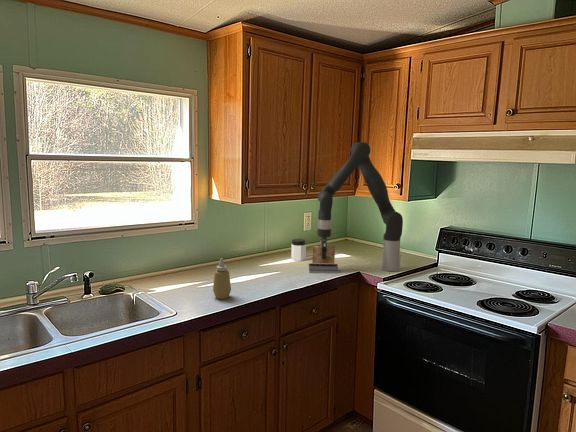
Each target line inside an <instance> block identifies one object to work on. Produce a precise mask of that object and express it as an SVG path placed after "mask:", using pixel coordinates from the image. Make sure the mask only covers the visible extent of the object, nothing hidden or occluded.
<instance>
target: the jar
mask: <svg viewBox="0 0 576 432" xmlns="http://www.w3.org/2000/svg"><path fill="white" fill-rule="evenodd" d="M290 248H291V249H290V250H291V253H290V254H291V255H290V258H291V260H293V261H297V262H302V261H304V260H306V258H307V251H306V250H307V245H306V239H304V238H294V239H292V240H291V247H290Z"/></svg>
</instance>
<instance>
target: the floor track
mask: <svg viewBox="0 0 576 432" xmlns="http://www.w3.org/2000/svg"><path fill="white" fill-rule="evenodd" d="M339 272H340V271H339V263H334V264H327V263H312V262H311V263H310V262H309V263H308V273H310V274H339Z"/></svg>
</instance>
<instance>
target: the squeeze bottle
mask: <svg viewBox="0 0 576 432" xmlns="http://www.w3.org/2000/svg"><path fill="white" fill-rule="evenodd" d="M213 275H214V277H213V285H212V292H213V294H214V298H215V299H217V300H225V299H228V298H229V297H230V293H231V292H232V291H231V290H232V287H231V285H232V284H231V278H230V276H231V275H230V271H229V270H228V266H227V265H226V264H225V262H224V258H223V257H221V258H220V259H219V263H218V265H216V270H215V271H214V273H213Z"/></svg>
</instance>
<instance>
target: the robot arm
mask: <svg viewBox="0 0 576 432" xmlns="http://www.w3.org/2000/svg"><path fill="white" fill-rule="evenodd" d="M350 154H351V155H350V156H349V157H348V159H347V161H345V163H344V164H343V165H342V166H341V167H340V168H339V169H338V170H337V171H336V172H335V173H334V174H333V176H332V177H331V178H330V180H329V181H328V183H326V185H325V186H324V187H323V188H322V189H321V190H320V192H319V193H318V194H317V200H318V202H319V209H318V211H317V213H318V215H317V232H316V234H317V237H319V238H320V246H321V248H322V259H326V252H327V246H328V243H329V240H328V238H331V236H332V210H333V209H332V208H333V202H334V201H333V200H334V197H333V196H334V195H335V193H337V192H339V191H340V190H341V188H342V187H343V186H344V184H345V183H346V181H348V179H349V178H350V176H351V175H352V174H353V173H354V171H355V170H356V169H357V167H358V169H359V170H360V172H361V175H362V177H363V180H364V182H365V184H366V186H367V188H368V191H369V193H370V195H371V197H372V199H373V200H374V202H375V205H377V208H378V210H379V213H380V216H381V220H382V222H383V223H384V224H385V233H384V234H383V241H382V242H383V243H382V245H383V246H382V261H381V263H382V264H381V266H382V267H381V269H382V270H383V271H386V272H400V271H401V256H402V255H401V237H402V234H403V225H404V220H403V219H404V218H403V216H402V214H401V213H400V212H398V211H396V209H394V207H393V205H392V203H391V201H390V195H389V193H388V188H387V184H386V183H385V181H384V179H383V176H382V175H381V173H380V172H379V170H377V168H376V167H375V166H374V164H373V163H372V160H371V158H370V154H371V147H370V145H369V143H367V142H363V141H359V142H354V143H353V144H352V146H351V147H350ZM323 249H325V250H323Z"/></svg>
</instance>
